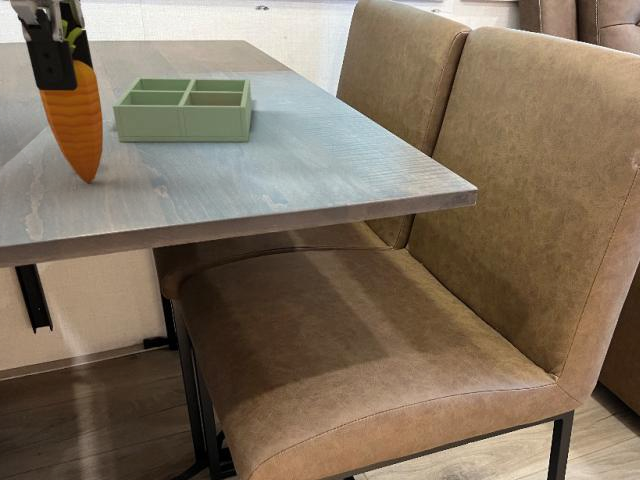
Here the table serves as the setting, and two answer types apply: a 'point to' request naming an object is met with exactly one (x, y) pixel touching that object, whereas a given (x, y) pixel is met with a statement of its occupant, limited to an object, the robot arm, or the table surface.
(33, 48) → the robot arm
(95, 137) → the carrot
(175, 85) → the grid
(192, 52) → the table surface
